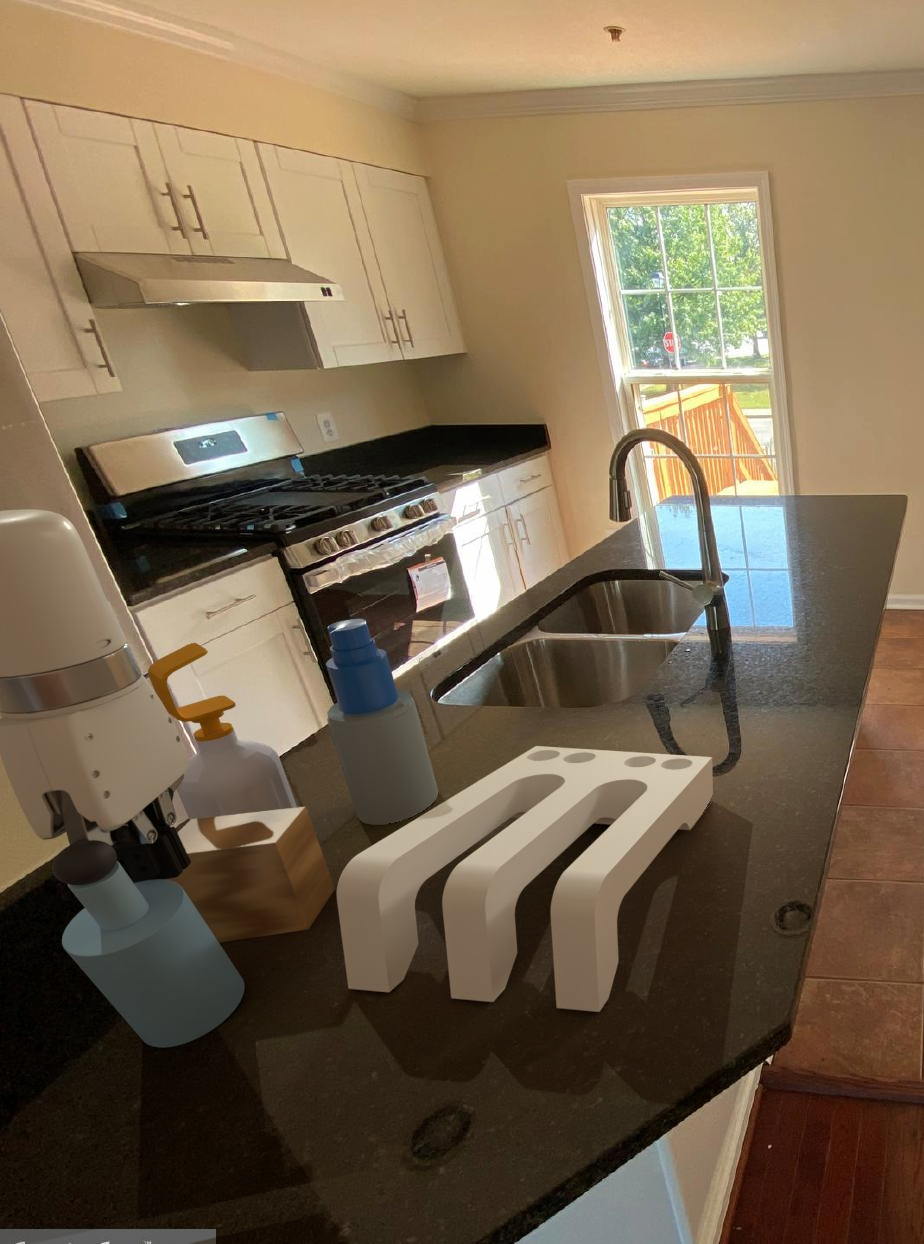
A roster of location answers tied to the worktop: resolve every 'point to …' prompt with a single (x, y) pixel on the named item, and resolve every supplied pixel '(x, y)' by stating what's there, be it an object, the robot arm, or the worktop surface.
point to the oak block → (255, 873)
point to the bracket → (521, 869)
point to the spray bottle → (376, 730)
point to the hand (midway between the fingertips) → (164, 873)
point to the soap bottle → (221, 754)
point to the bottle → (146, 948)
